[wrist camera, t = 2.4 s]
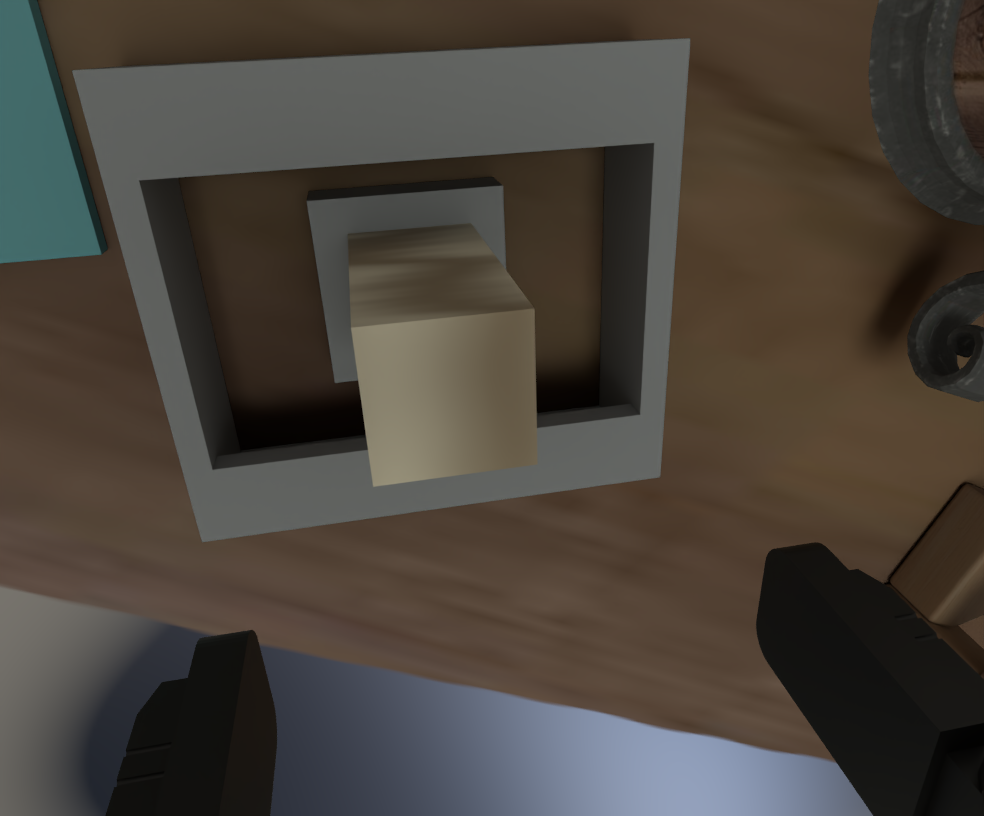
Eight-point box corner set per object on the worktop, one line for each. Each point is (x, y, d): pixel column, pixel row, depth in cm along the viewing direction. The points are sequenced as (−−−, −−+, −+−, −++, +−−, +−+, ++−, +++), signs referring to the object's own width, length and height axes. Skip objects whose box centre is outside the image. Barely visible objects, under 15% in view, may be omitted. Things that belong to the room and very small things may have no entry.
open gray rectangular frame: (221, 473, 32) (201, 542, 27) (120, 66, 24) (72, 70, 20) (618, 421, 34) (659, 477, 30) (633, 40, 27) (690, 38, 23)
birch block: (363, 349, 28) (373, 486, 19) (347, 233, 26) (351, 327, 17) (477, 337, 29) (537, 464, 20) (471, 223, 27) (534, 308, 18)
